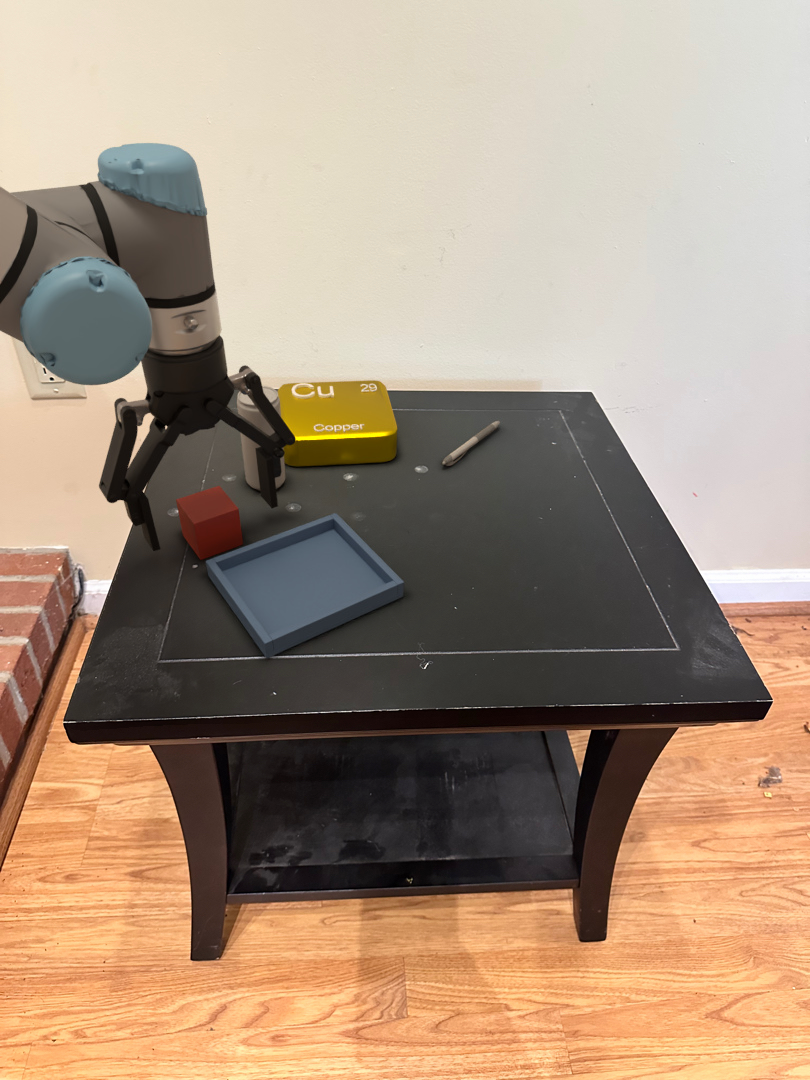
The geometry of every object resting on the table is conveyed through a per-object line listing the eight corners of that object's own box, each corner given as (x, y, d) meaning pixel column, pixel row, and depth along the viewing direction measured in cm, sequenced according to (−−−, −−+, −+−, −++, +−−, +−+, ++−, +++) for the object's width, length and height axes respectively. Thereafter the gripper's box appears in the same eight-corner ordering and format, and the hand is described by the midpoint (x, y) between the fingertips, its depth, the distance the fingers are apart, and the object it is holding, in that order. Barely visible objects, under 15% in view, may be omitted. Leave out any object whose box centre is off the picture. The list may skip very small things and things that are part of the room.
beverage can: (282, 494, 88) (276, 406, 80) (243, 492, 88) (232, 404, 80) (288, 471, 92) (282, 385, 84) (249, 470, 92) (240, 383, 84)
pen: (439, 468, 94) (439, 459, 93) (495, 426, 103) (496, 417, 102) (445, 471, 93) (446, 462, 93) (501, 428, 102) (503, 419, 101)
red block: (200, 560, 78) (193, 524, 75) (182, 535, 81) (175, 499, 78) (243, 544, 81) (238, 508, 77) (224, 520, 84) (219, 485, 81)
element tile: (281, 468, 92) (279, 436, 89) (279, 409, 104) (276, 379, 101) (398, 462, 94) (400, 430, 91) (383, 405, 106) (384, 375, 103)
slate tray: (266, 658, 68) (264, 643, 67) (208, 575, 77) (205, 560, 75) (403, 596, 75) (404, 581, 74) (336, 526, 84) (335, 512, 82)
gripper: (47, 390, 58) (109, 584, 72) (321, 323, 69) (329, 501, 83) (24, 354, 63) (86, 542, 76) (284, 297, 74) (297, 470, 88)
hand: (213, 521), depth 80 cm, fingers open, 13 cm apart
